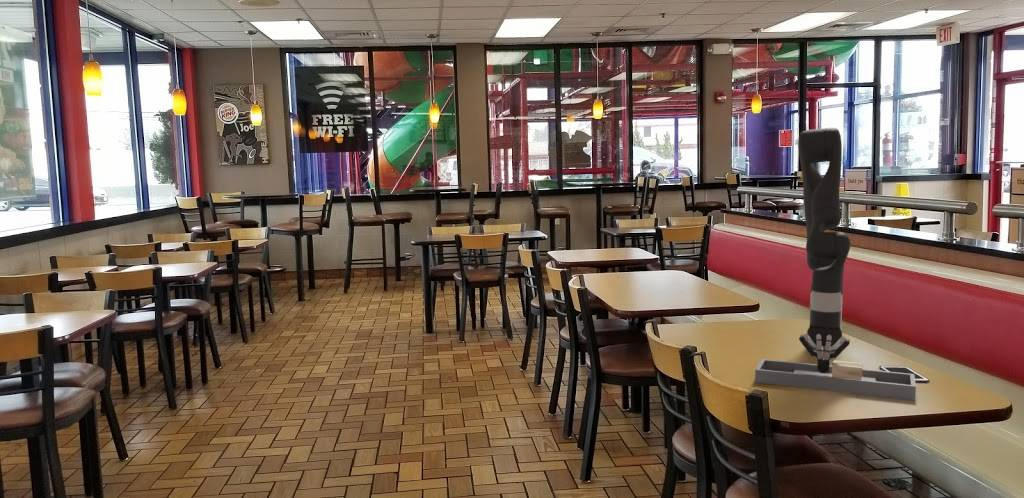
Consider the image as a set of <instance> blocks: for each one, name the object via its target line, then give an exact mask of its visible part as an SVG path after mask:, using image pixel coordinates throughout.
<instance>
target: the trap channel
mask: <svg viewBox="0 0 1024 498" xmlns="http://www.w3.org/2000/svg"><path fill="white" fill-rule="evenodd" d="M817 366H818V363H816V364H814V363H805V362H795V361H788V360H787V361H785V360H775V359H765V358H761V359H760V362H759V363H758V365H757V366H756V367H755V371H754V373H755V374H754V383H756V384H764V383H765V384H766V385H773V384H775V385H774V386H782V385H785V386H786V387H791V386H792V387H793V388H801V389H802V388H803V389H808V390H809V389H810V390H819V391H820V390H821V391H829V392H835V393H836V392H838V393H846V394H852V395H853V394H855V395H863V396H864V395H865V396H872V397H881V398H891V399H899V400H900V399H901V400H908V401H916V389H917V386H916V382H915V375H914V374H908V373H898V372H888V371H883V370H877V369H869V368H868V369H866V368H862V380H858V379H849V378H839V377H832V365H829V371H828V372H827V371H826V374H825V373H820V371H818V369H817ZM765 384H764V385H765ZM785 386H784V387H785ZM792 387H791V388H792Z"/></svg>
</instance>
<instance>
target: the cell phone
mask: <svg viewBox="0 0 1024 498" xmlns="http://www.w3.org/2000/svg"><path fill="white" fill-rule="evenodd" d="M878 369H879V370H880V371H888V372H898V373H908V374H914V375H915V383H917V384H918V383H919V384H920V383H922V384H923V383H924V384H927V383H926V382H929V383H930V379H928V378H927V377H926V376H924V375H922V374H920V373H919V372H917V371H915V370H913V369H912V368H910V367H908V366H906V365H880V366H879V368H878Z"/></svg>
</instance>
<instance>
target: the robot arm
mask: <svg viewBox="0 0 1024 498" xmlns="http://www.w3.org/2000/svg"><path fill="white" fill-rule="evenodd" d="M797 140H798V142H797V146H798V156H799V161H800V169H801V176H802V190H803V210H804V218H805V219H804V220H805V227H806V244H805V250H806V263H807V267H808V268H809V269H810V270H811V271H812V278H811V280H812V281H811V285H810V300H809V301H810V303H809V327H808V328H807V330H806V333H804V334H801V335H799V338H798V341H799V342H800V343H801V345H803V347H804V349H805V350H806V351H807V352H808V353H809V355H810V356H811V357H815V358H816V359H817V365H818V366H817V369H818V371H820V373H825V374H826V371H827V372H828V371H829V366H830V362H831V361H830V360H832V359H836V358H837V357H838V356H839V355H840V354H842V352H843V351H845V349H846V348H847V347H848V346H849V345H850V343H851V340H850V339H849V338H847V337H845V336H844V335H843V332H842V319H843V318H842V317H843V316H842V315H843V314H842V313H843V291H844V288H843V286H844V285H843V284H844V271H845V263H846V260H847V258H848V256H849V253H850V249H851V240H850V237H849V236H848V235H847V233H844V232H841V231H826V230H831V229H832V230H833V229H834V228H837V227H838V226H839V225H840V224H841V205H840V204H841V201H840V189H841V188H840V187H841V186H840V185H841V176H842V158H843V157H842V153H843V152H842V149H843V148H842V147H843V146H842V136H841V132H840V130H839V129H838V128H836V127H824V128H816V129H807V130H803V131H801V132H800V133H799V136H798V139H797ZM826 162H829V163H828V167H827V169H826V172H825V174H824V175H822V174H821V173H820V172H819V171H818V169H817V168H816V166H815V164H814V163H826ZM831 351H833V352H831Z"/></svg>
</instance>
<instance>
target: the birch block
mask: <svg viewBox="0 0 1024 498" xmlns="http://www.w3.org/2000/svg"><path fill="white" fill-rule="evenodd" d="M831 366H832V377H839V378H849V379H858V380H862V369H863V362H855V361H853V362H852V361H844V360H833V362H832V365H831Z"/></svg>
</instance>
